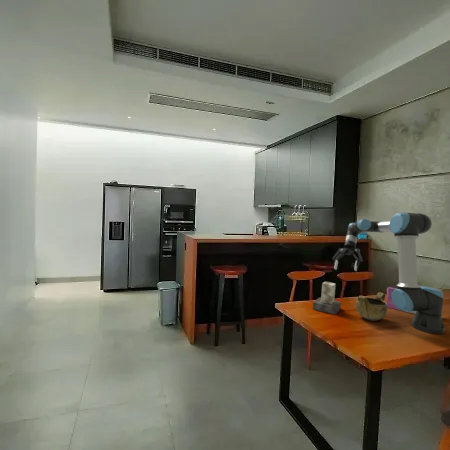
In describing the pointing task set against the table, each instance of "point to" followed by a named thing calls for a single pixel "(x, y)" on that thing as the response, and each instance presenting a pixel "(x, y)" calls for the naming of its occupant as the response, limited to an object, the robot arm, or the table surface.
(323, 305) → the charcoal plinth
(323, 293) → the birch block
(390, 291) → the gum box
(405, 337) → the table surface
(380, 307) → the khaki rounded piece
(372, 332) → the table surface
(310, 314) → the table surface
